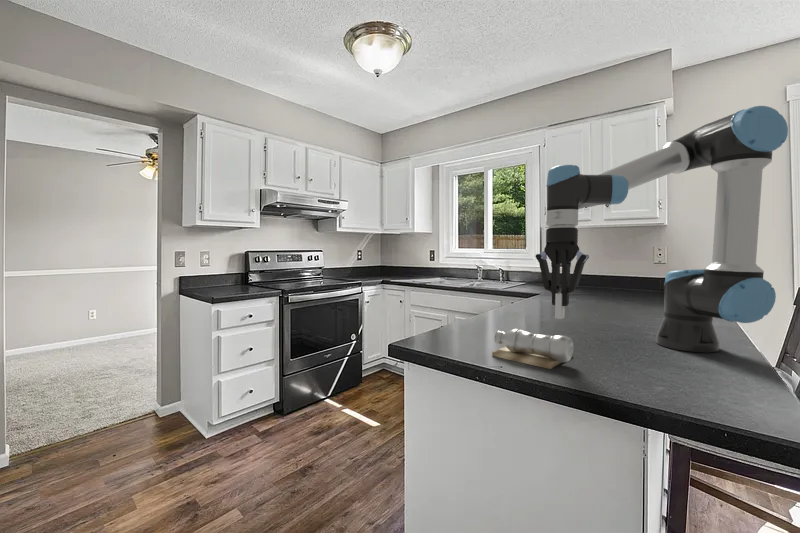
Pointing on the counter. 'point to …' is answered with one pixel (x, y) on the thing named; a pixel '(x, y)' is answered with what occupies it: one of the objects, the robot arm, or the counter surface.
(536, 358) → the birch board
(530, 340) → the plastic bottle
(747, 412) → the counter surface
